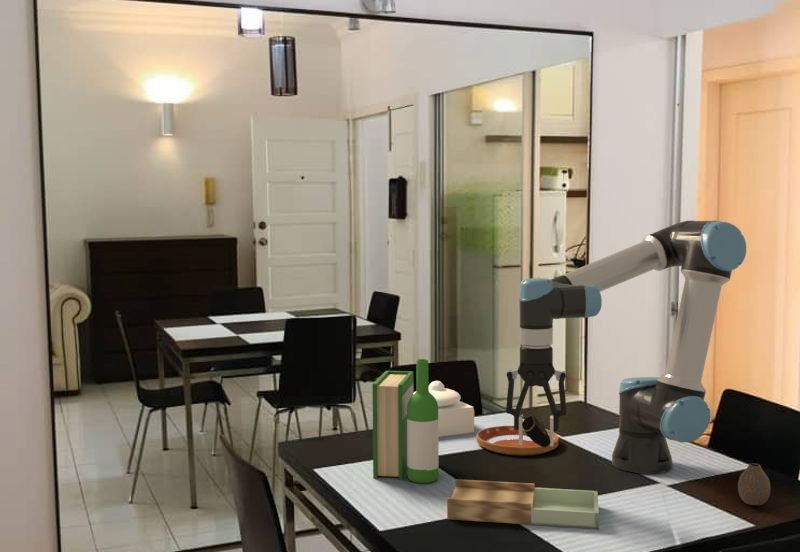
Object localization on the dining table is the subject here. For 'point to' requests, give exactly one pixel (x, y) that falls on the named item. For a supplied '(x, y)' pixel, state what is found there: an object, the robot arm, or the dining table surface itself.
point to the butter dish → (451, 411)
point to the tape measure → (536, 431)
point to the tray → (565, 508)
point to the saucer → (511, 442)
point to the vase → (754, 485)
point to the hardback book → (391, 423)
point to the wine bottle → (422, 430)
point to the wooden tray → (491, 501)
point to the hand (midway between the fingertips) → (536, 443)
